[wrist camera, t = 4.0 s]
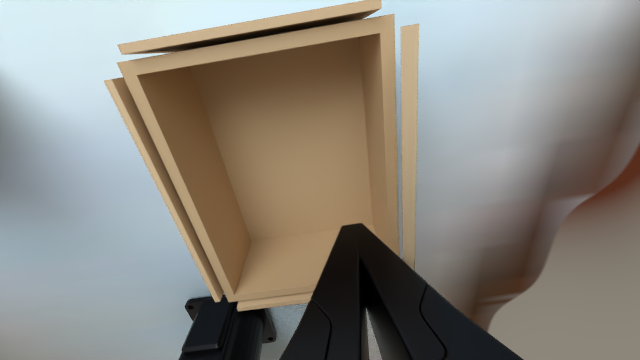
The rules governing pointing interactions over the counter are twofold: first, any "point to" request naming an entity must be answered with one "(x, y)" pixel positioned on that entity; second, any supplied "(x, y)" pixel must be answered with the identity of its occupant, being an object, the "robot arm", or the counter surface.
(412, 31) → the flap near
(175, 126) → the carton
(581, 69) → the counter surface
